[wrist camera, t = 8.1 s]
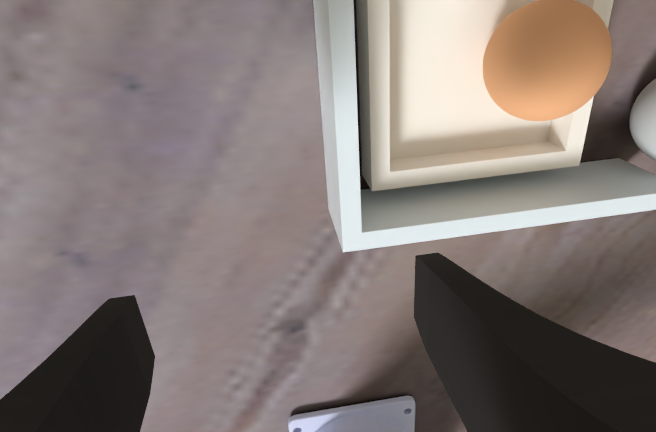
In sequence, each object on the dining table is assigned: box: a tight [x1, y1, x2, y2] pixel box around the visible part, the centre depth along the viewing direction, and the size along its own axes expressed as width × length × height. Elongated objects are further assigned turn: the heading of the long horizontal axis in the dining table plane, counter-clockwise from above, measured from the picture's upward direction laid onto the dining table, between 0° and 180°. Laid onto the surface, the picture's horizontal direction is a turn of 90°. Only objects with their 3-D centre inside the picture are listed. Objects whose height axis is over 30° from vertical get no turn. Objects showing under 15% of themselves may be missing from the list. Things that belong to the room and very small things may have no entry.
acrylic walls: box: [313, 0, 656, 252], centre depth 18 cm, size 11×15×4 cm
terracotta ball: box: [483, 0, 612, 121], centre depth 17 cm, size 4×4×4 cm
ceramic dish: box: [356, 0, 614, 191], centre depth 19 cm, size 10×10×2 cm
